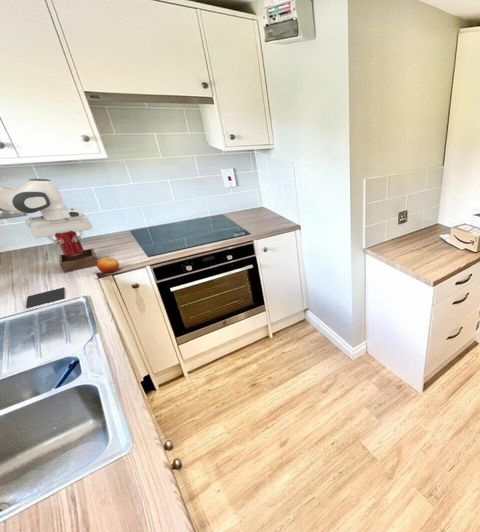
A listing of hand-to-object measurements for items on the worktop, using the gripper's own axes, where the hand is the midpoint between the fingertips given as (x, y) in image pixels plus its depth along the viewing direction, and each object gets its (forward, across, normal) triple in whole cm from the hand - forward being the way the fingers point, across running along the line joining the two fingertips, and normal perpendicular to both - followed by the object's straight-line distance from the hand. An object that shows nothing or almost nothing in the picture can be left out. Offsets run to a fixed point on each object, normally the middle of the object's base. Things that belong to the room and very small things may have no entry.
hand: (69, 241), depth 154 cm
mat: (+13, -12, -30) cm, 35 cm away
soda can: (+6, 0, 0) cm, 6 cm away
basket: (+12, 0, 0) cm, 12 cm away
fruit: (+12, +10, -18) cm, 24 cm away
